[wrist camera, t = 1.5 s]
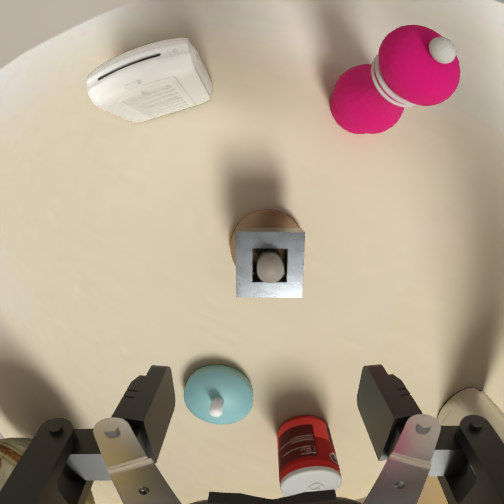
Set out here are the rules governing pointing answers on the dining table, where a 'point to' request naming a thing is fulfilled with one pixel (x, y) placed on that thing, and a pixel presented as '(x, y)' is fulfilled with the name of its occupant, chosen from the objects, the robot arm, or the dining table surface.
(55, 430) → the robot arm
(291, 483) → the canned food
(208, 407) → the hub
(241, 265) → the square metal frame
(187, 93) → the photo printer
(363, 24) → the dining table surface
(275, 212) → the stand
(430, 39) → the pepper mill
